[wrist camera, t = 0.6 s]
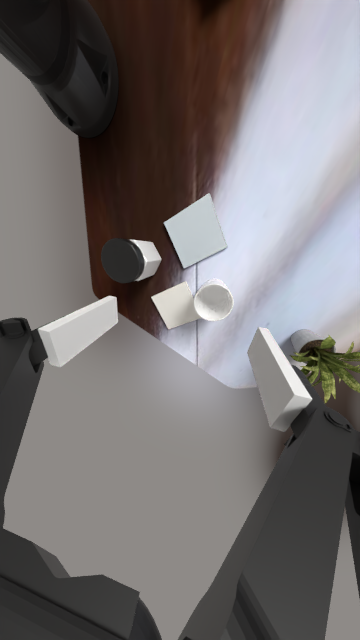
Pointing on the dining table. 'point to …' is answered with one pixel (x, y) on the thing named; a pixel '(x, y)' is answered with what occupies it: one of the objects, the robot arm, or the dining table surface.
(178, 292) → the tile shorter
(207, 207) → the light grey square tile
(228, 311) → the white cup
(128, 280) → the jar
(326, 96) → the dining table surface
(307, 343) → the house plant
